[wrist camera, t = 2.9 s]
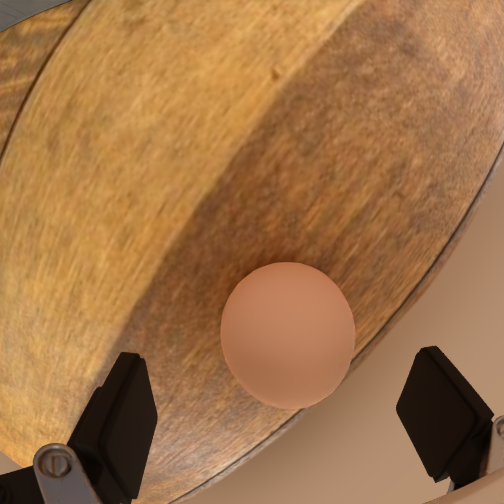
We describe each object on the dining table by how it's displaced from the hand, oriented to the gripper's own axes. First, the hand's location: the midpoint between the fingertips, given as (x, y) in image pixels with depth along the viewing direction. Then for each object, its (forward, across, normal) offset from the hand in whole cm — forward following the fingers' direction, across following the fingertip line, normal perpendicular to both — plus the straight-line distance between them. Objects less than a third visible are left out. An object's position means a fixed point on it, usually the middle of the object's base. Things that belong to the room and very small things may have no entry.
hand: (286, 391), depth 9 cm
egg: (+8, -1, 0) cm, 8 cm away
